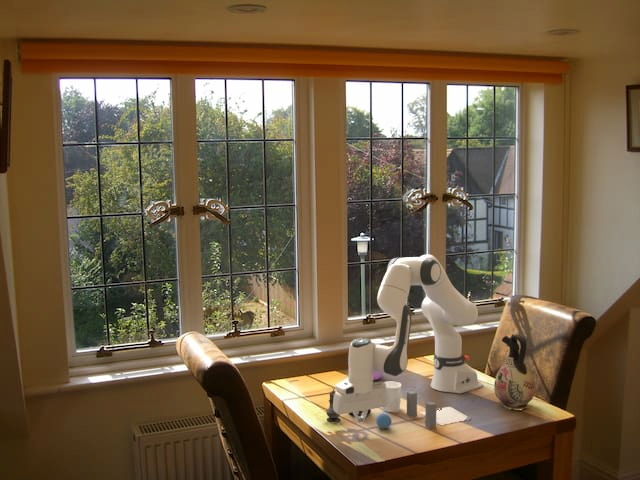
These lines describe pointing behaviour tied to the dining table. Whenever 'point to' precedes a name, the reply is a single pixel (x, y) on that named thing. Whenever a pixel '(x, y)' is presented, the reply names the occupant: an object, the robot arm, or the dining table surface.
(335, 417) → the grey chess piece
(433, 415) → the post
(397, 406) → the white cup
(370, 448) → the dining table surface
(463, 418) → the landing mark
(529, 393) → the ceramic jug
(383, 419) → the ball
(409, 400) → the post
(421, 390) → the dining table surface
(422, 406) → the dining table surface
